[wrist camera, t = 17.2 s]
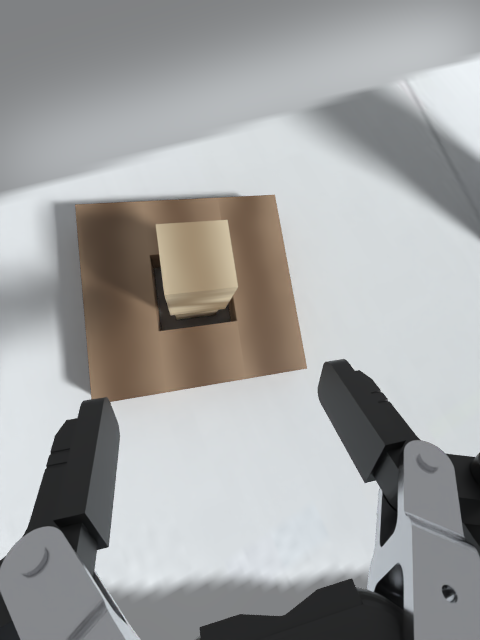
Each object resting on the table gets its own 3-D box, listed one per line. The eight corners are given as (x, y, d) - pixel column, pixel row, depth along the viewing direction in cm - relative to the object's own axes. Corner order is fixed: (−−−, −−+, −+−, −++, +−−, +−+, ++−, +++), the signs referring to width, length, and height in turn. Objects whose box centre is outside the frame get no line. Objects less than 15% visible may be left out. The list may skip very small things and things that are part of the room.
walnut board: (265, 212, 29) (274, 194, 26) (293, 368, 27) (307, 368, 24) (88, 223, 26) (75, 204, 23) (103, 400, 23) (92, 404, 21)
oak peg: (212, 274, 27) (227, 219, 17) (219, 317, 26) (238, 287, 16) (167, 278, 26) (155, 224, 16) (173, 323, 25) (164, 294, 16)
